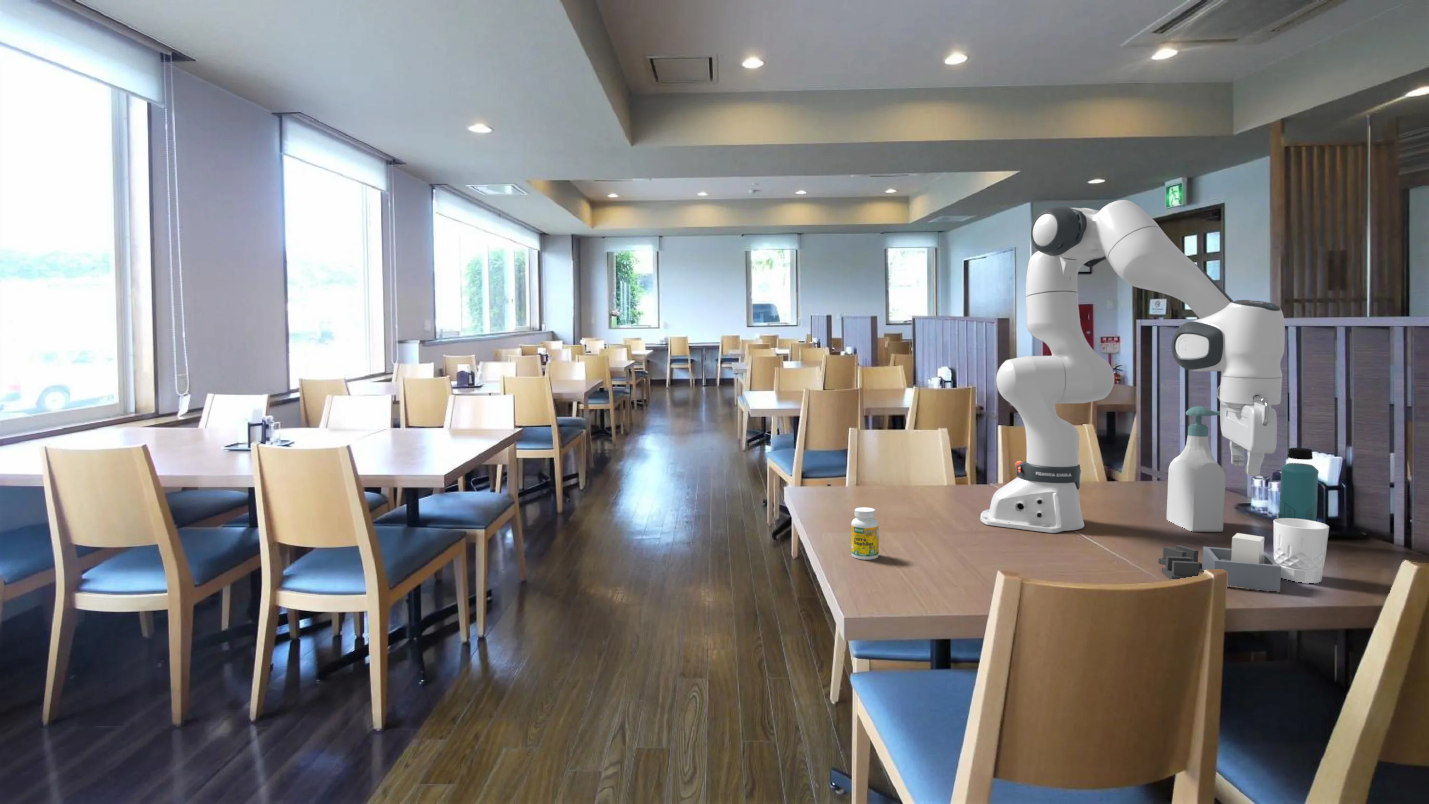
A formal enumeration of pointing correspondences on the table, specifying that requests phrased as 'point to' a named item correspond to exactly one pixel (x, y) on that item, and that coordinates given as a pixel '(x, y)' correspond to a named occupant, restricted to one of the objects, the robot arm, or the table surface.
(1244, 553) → the block
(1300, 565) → the white cup
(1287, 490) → the beverage bottle
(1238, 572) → the gray square tray
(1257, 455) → the robot arm
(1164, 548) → the clip
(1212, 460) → the soap bottle
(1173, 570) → the clip
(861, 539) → the supplement bottle
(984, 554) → the table surface
